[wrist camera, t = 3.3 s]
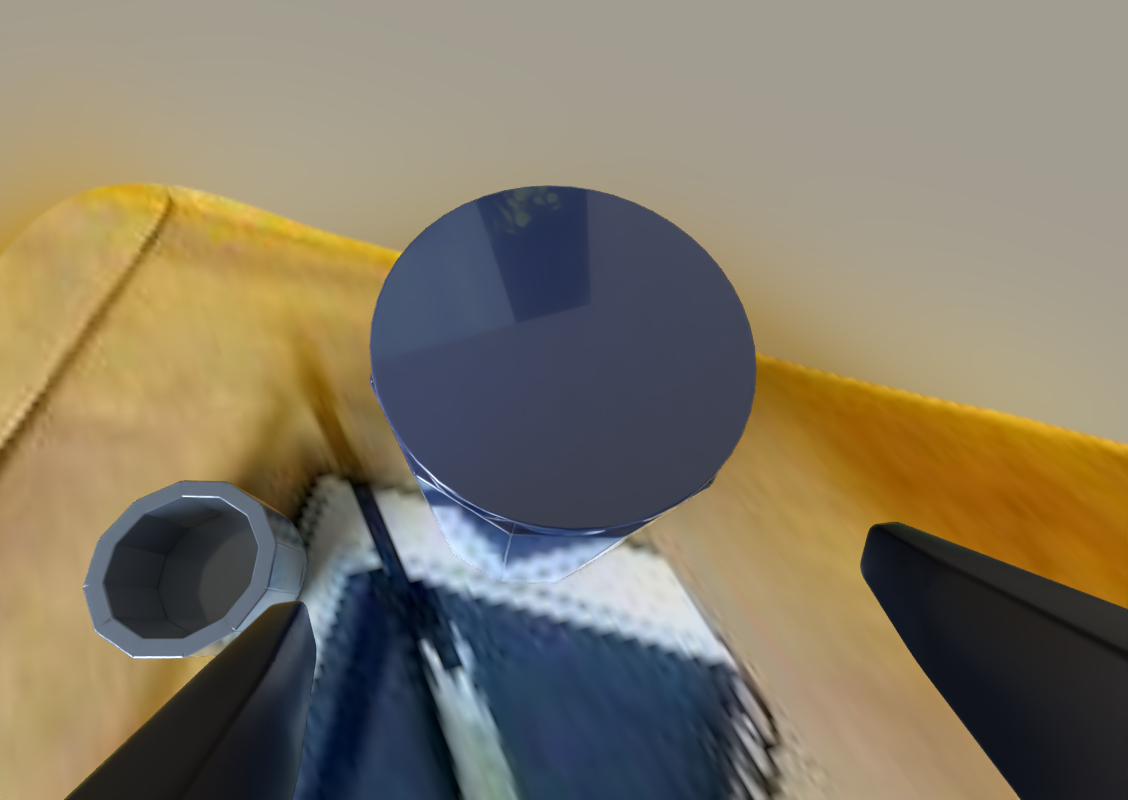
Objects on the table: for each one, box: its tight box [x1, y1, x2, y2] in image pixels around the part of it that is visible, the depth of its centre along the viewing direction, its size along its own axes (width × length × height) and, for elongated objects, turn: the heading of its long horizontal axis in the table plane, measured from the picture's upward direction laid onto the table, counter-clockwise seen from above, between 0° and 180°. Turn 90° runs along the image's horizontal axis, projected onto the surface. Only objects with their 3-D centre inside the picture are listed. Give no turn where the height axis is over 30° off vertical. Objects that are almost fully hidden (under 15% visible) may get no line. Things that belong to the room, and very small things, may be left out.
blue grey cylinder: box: [369, 185, 756, 583], centre depth 15 cm, size 7×7×11 cm
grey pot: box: [83, 480, 307, 658], centre depth 16 cm, size 5×5×3 cm
